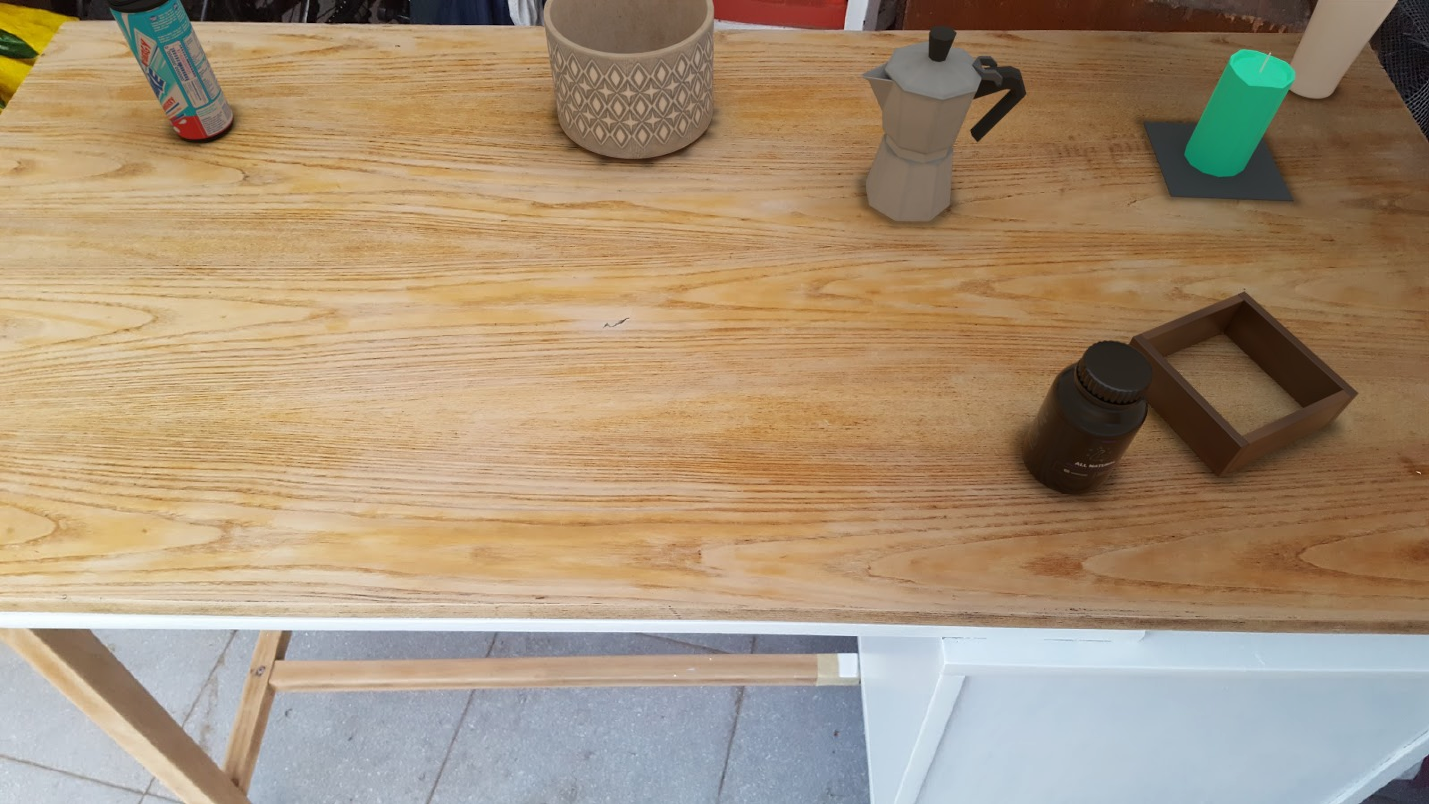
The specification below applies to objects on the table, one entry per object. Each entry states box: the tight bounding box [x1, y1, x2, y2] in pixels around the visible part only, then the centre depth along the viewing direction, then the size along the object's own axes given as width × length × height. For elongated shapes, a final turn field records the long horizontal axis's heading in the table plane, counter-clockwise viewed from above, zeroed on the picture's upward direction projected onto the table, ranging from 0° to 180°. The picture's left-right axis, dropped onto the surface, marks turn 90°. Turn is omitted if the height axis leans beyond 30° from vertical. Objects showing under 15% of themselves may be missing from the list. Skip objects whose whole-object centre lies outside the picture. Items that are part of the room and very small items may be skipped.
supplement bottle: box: [1021, 339, 1153, 496], centre depth 70 cm, size 7×7×12 cm
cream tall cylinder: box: [1289, 0, 1399, 100], centre depth 100 cm, size 7×7×15 cm
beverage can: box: [105, 0, 234, 143], centre depth 94 cm, size 6×6×15 cm
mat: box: [1143, 121, 1295, 202], centre depth 97 cm, size 12×12×1 cm
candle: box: [1184, 48, 1295, 177], centre depth 92 cm, size 6×6×12 cm
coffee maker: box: [860, 24, 1027, 222], centre depth 87 cm, size 15×9×18 cm, turn 91°
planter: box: [542, 0, 715, 160], centre depth 96 cm, size 16×16×13 cm
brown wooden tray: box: [1128, 291, 1359, 478], centre depth 77 cm, size 12×12×5 cm
